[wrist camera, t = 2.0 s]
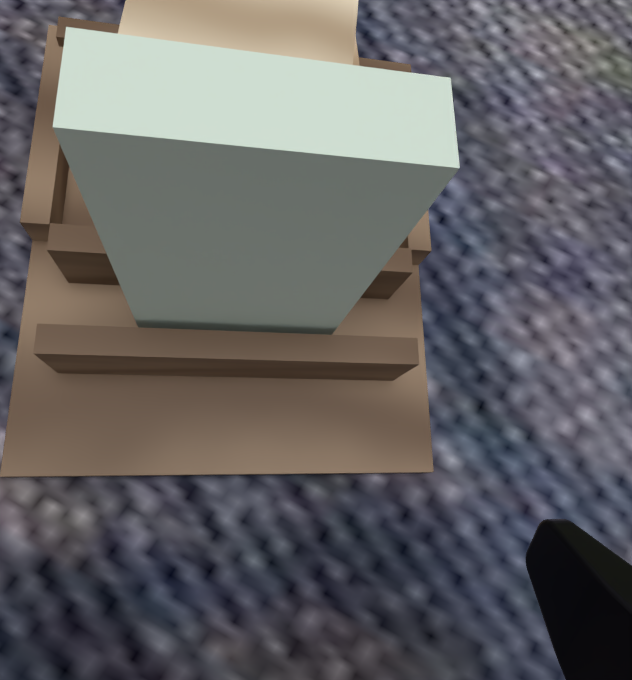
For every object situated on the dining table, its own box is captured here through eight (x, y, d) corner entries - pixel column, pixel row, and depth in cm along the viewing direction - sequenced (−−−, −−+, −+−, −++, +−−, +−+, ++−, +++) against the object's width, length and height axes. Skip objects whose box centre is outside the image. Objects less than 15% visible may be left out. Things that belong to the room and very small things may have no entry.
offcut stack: (341, 236, 24) (394, 133, 17) (128, 220, 22) (91, 99, 15) (337, 109, 26) (383, -29, 19) (139, 86, 24) (112, -75, 17)
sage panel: (321, 348, 22) (459, 167, 10) (144, 342, 21) (52, 126, 9) (320, 302, 23) (450, 78, 10) (148, 294, 21) (66, 26, 9)
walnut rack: (425, 472, 22) (467, 468, 19) (8, 477, 20) (-38, 473, 16) (400, 107, 27) (429, 48, 24) (63, 66, 24) (38, -7, 21)
